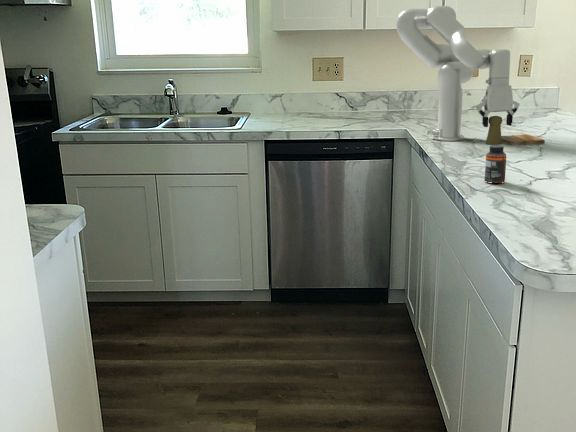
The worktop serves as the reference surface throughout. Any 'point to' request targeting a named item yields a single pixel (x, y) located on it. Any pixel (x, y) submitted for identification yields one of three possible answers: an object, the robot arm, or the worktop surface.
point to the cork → (494, 131)
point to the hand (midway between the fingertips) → (497, 125)
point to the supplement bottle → (495, 164)
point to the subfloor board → (521, 140)
